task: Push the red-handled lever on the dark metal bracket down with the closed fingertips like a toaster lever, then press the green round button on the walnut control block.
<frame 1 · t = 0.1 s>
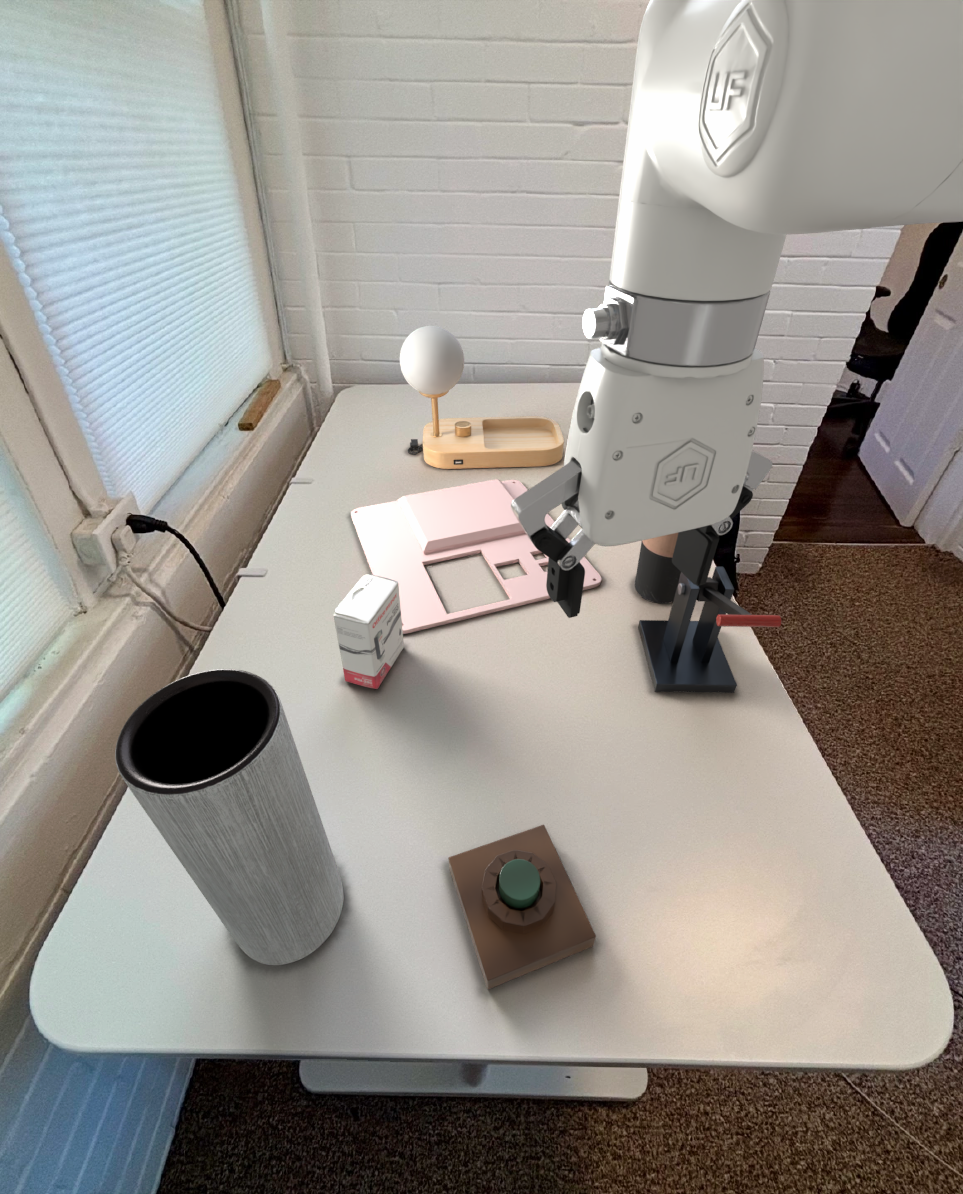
hand: (627, 588, 41), 32 cm above the table, tool pointing down, fingers open, 9 cm apart
travel mug: (657, 589, 91), on the table
ink box: (376, 664, 79), on the table
lamp: (484, 450, 128), on the table
button: (519, 883, 52), point 4 cm above the table, slide at 0.1 cm
lever: (722, 602, 66), point 15 cm above the table, hinge at 25.0°
vase: (290, 907, 55), on the table
bracket: (683, 658, 79), on the table
control block: (517, 905, 55), on the table
panel: (466, 546, 100), on the table
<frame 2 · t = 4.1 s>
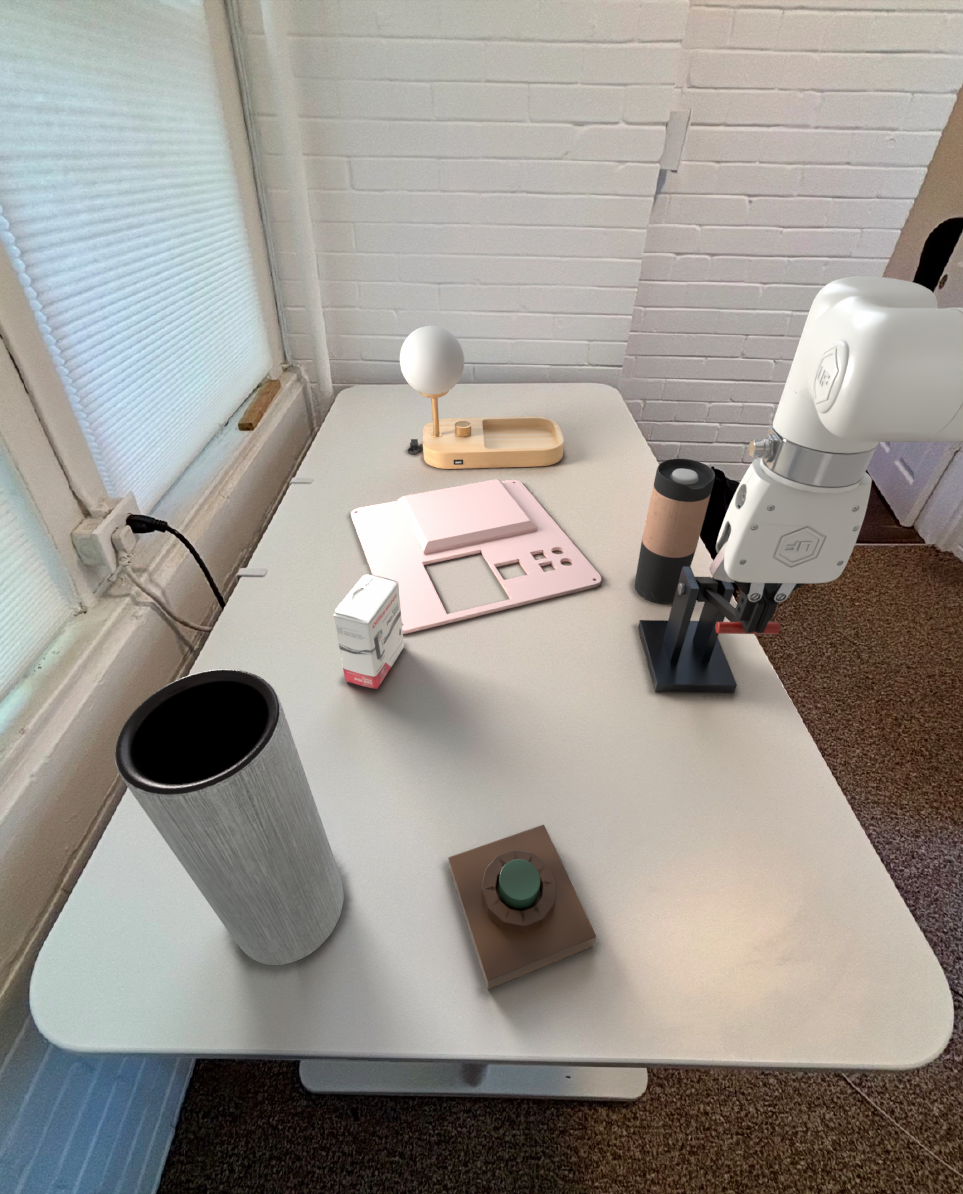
hand: (749, 623, 59), 17 cm above the table, tool pointing down, fingers closed
lever: (722, 605, 66), point 14 cm above the table, hinge at 21.6°, touching gripper
everything else where it was.
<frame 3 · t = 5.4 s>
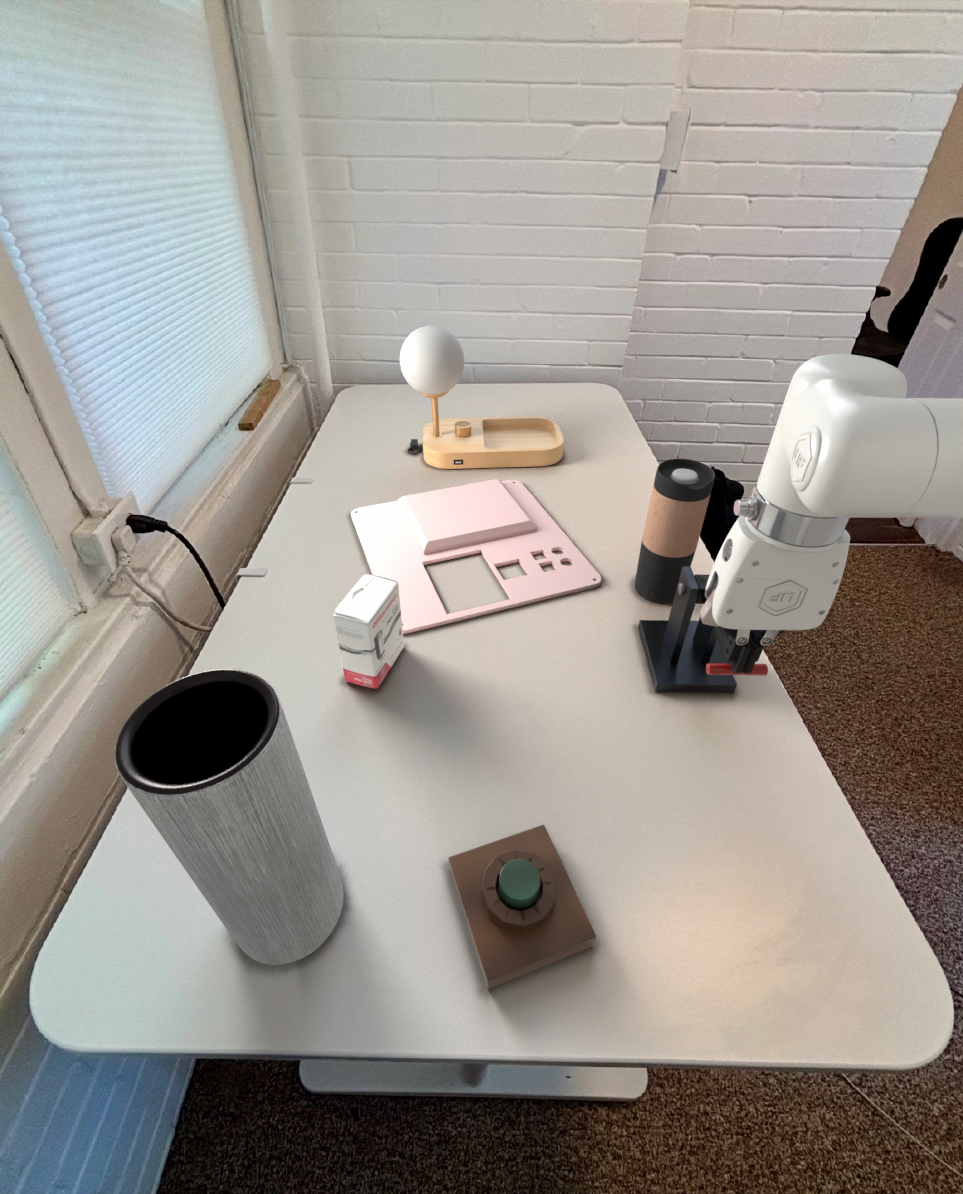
hand: (737, 663, 61), 12 cm above the table, tool pointing down, fingers closed
lever: (718, 623, 67), point 12 cm above the table, hinge at -1.2°, touching gripper
everything else where it was.
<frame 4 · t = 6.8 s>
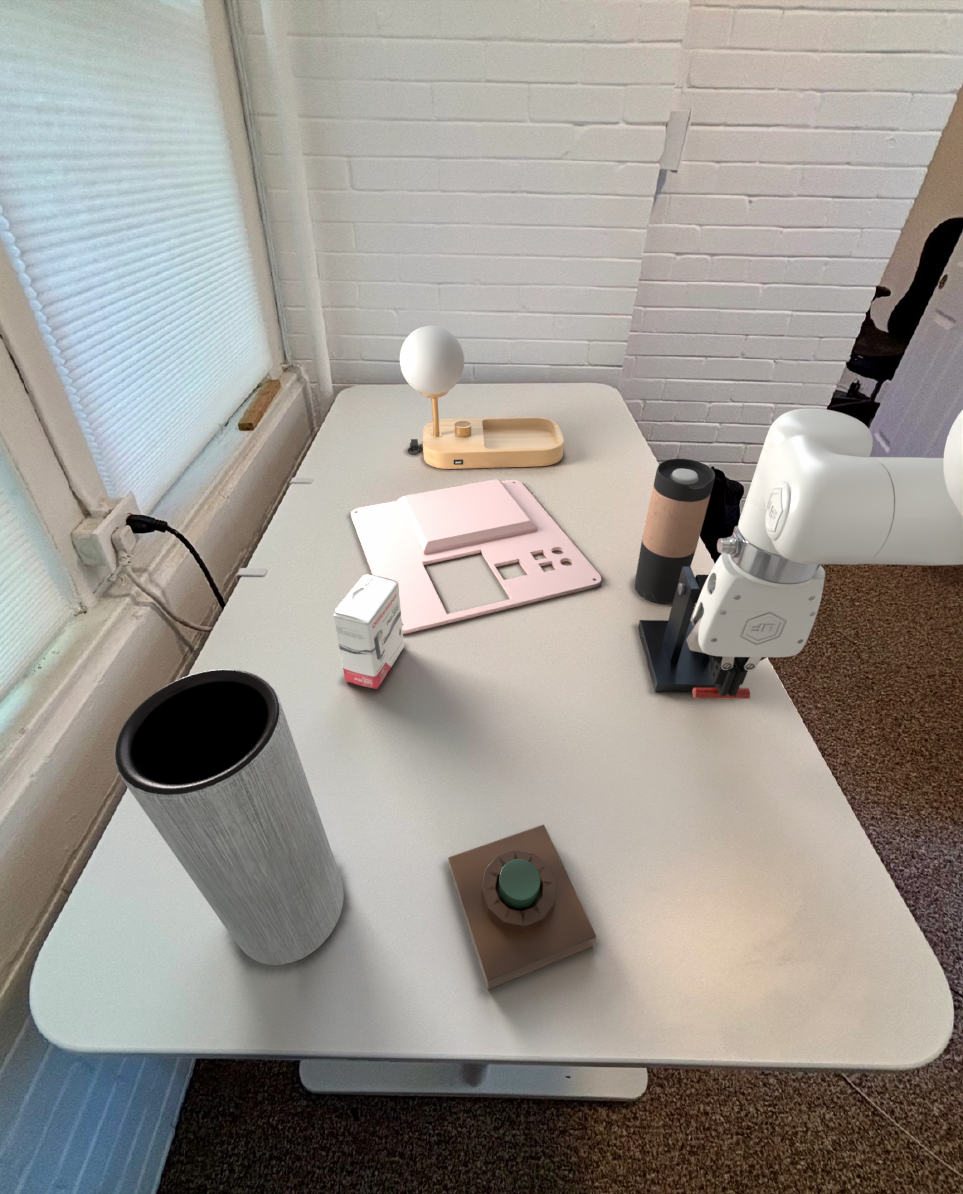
hand: (723, 685, 65), 8 cm above the table, tool pointing down, fingers closed
lever: (711, 635, 69), point 9 cm above the table, hinge at -24.3°, touching gripper
everything else where it was.
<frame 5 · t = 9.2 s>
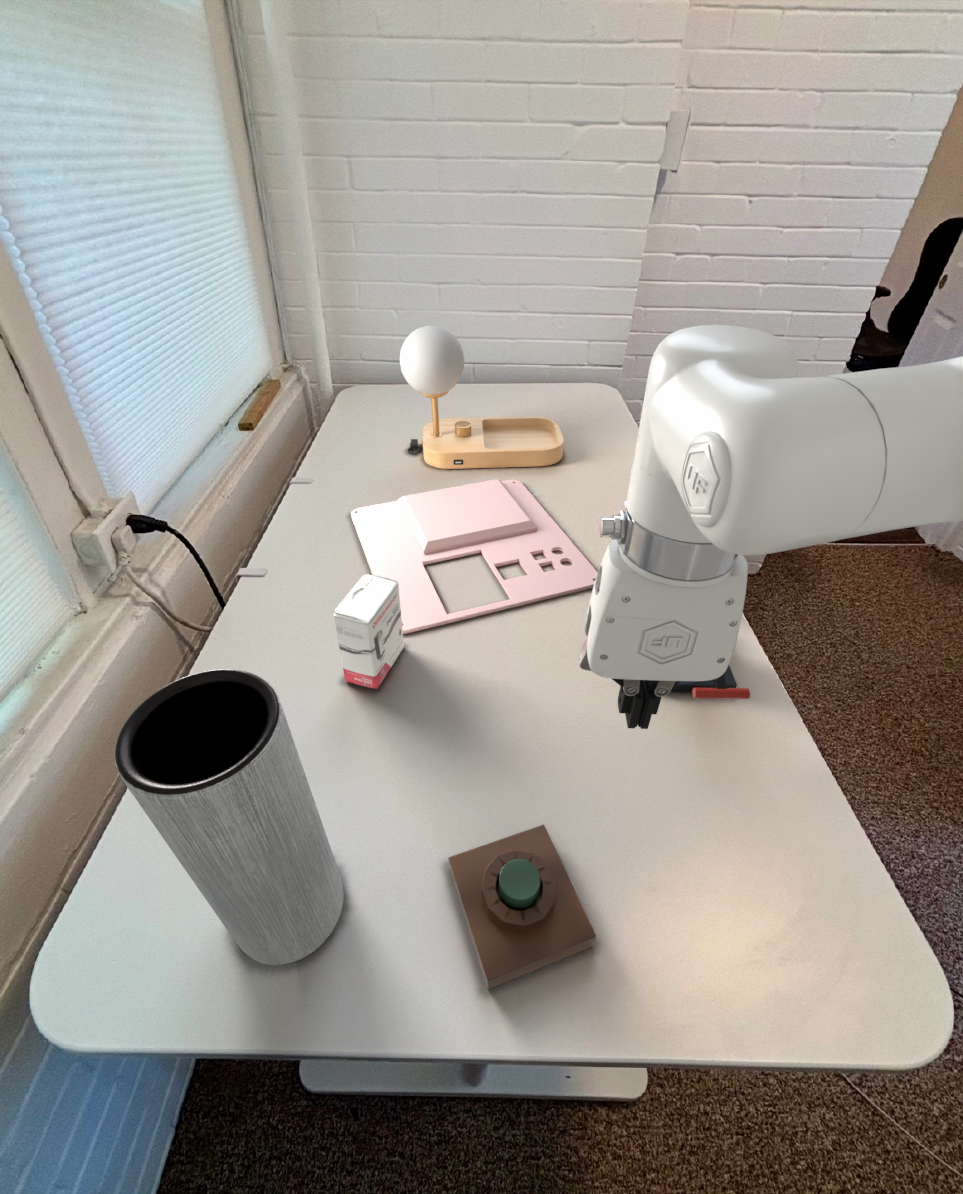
hand: (634, 714, 50), 17 cm above the table, tool pointing down, fingers closed
lever: (711, 635, 69), point 9 cm above the table, hinge at -24.3°
everything else where it was.
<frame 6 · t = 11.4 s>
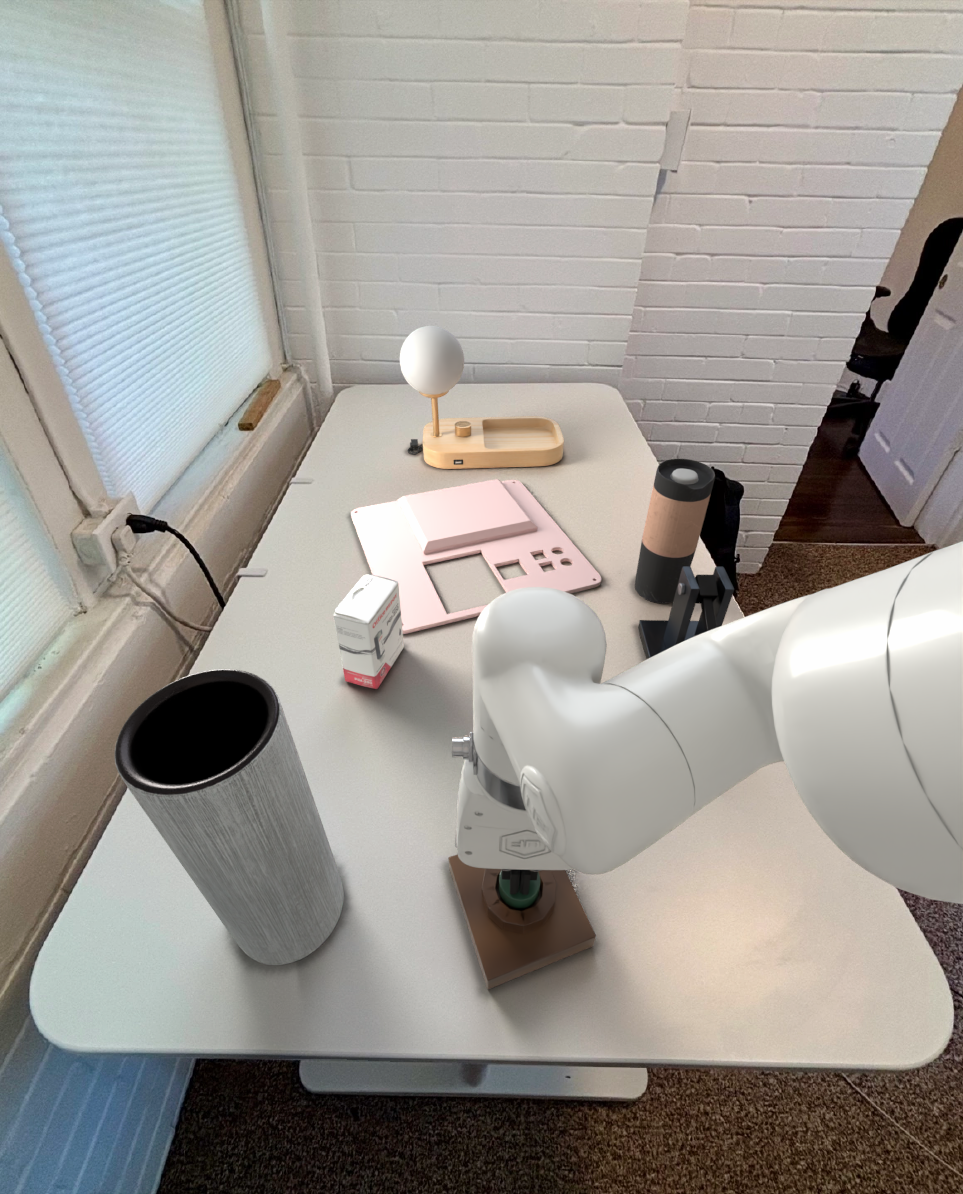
hand: (518, 876, 52), 5 cm above the table, tool pointing down, fingers closed
button: (519, 883, 52), point 4 cm above the table, slide at 0.0 cm, touching gripper
everything else where it was.
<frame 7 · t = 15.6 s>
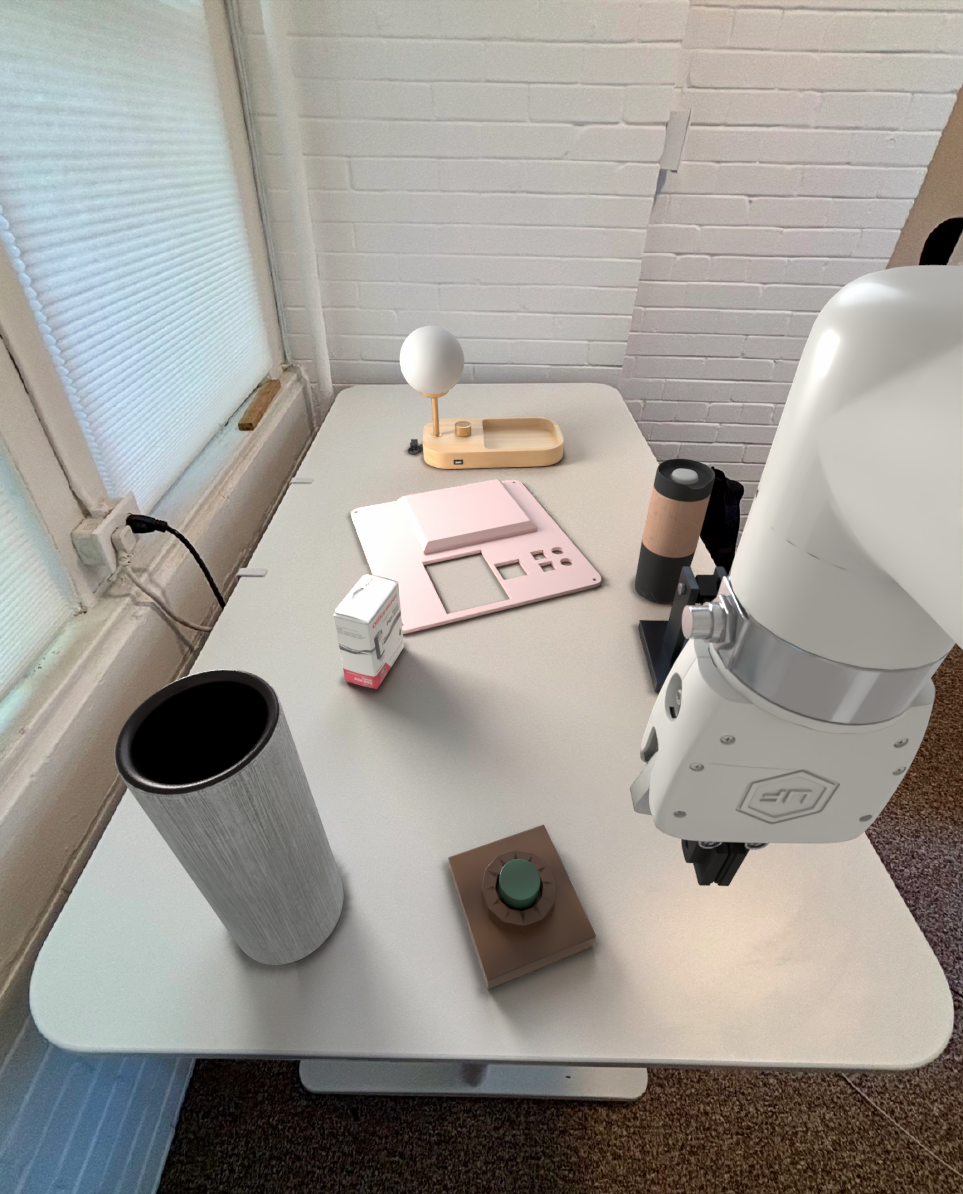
hand: (705, 860, 35), 23 cm above the table, tool pointing down, fingers closed
button: (519, 883, 52), point 4 cm above the table, slide at 0.1 cm
everything else where it was.
at the end: lever at -24° (first picture: +25°); button pushed in 1.1 cm at the most during the clip, back to where it started at the end; button slide at 0.1 cm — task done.
